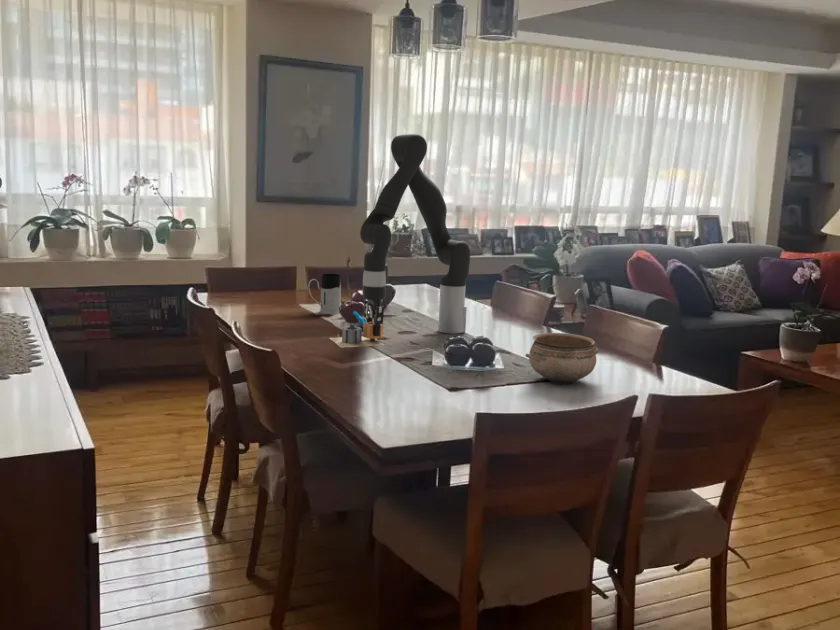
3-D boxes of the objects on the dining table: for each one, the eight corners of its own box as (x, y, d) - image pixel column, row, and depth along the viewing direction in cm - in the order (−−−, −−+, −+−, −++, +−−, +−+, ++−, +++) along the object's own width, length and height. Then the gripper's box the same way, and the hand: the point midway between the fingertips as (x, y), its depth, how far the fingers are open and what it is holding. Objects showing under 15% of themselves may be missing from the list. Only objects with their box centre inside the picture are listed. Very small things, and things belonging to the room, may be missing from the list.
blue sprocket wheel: (374, 331, 267) (354, 310, 266) (361, 342, 267) (342, 321, 267) (375, 328, 278) (356, 308, 278) (363, 339, 278) (345, 319, 278)
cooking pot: (544, 394, 205) (548, 350, 203) (505, 376, 221) (508, 335, 219) (616, 385, 216) (620, 343, 214) (574, 369, 233) (577, 330, 230)
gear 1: (353, 338, 256) (353, 325, 255) (365, 342, 251) (365, 328, 251) (338, 341, 251) (338, 327, 251) (350, 344, 247) (350, 331, 246)
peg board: (371, 339, 261) (372, 318, 260) (385, 348, 249) (385, 327, 247) (329, 341, 256) (329, 320, 254) (340, 351, 243) (341, 329, 242)
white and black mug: (345, 313, 305) (346, 276, 302) (313, 315, 297) (313, 277, 294) (334, 309, 312) (335, 273, 309) (303, 311, 304) (303, 274, 301)
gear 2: (378, 334, 258) (379, 321, 257) (385, 338, 252) (385, 325, 251) (360, 335, 256) (361, 321, 255) (366, 339, 250) (367, 325, 249)
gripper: (392, 287, 245) (390, 337, 249) (377, 280, 258) (376, 328, 262) (370, 287, 243) (368, 339, 246) (356, 280, 256) (355, 329, 259)
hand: (372, 333), depth 254 cm, fingers closed on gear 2, 6 cm apart
